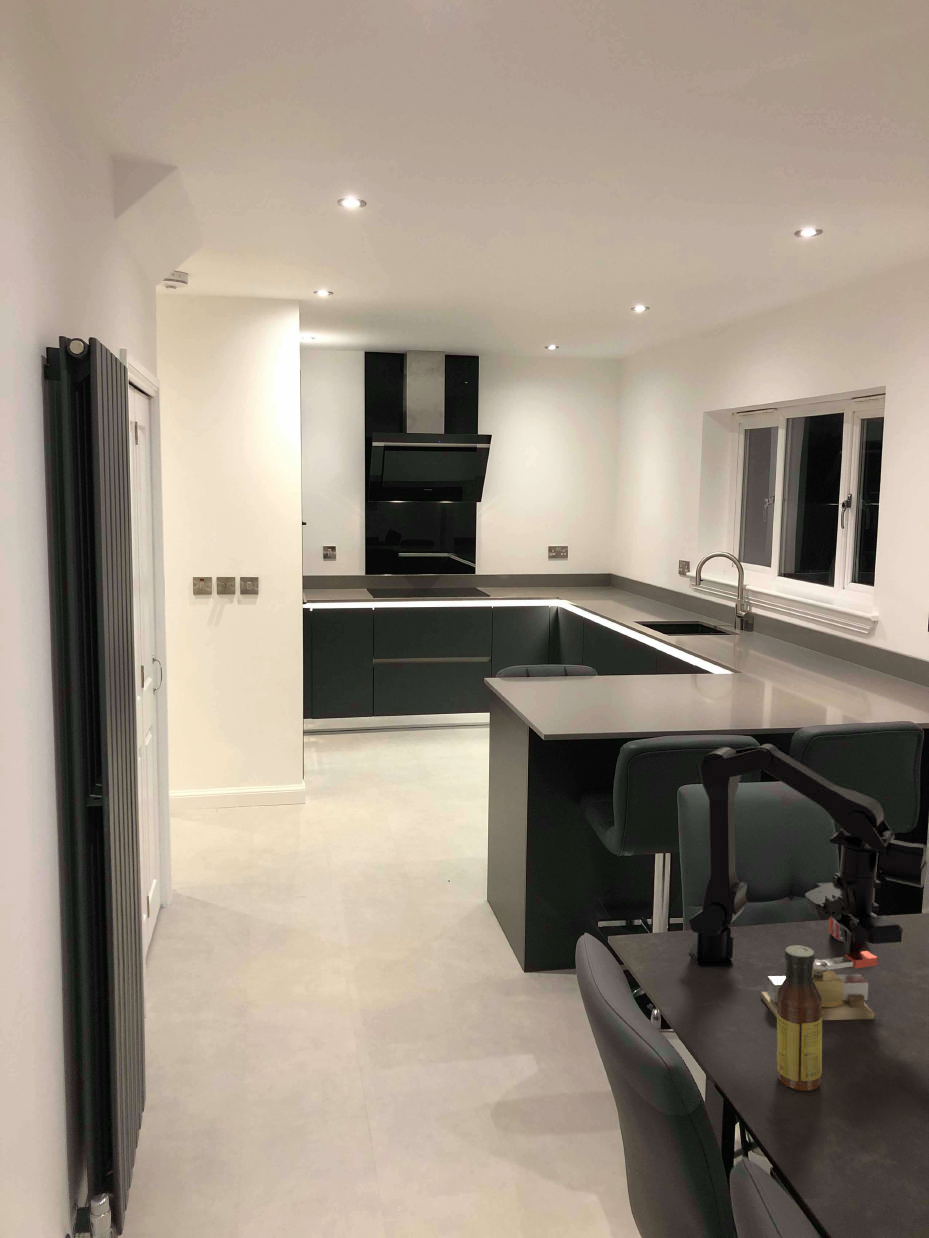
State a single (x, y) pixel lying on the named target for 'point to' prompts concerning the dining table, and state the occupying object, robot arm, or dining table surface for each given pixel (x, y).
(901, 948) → the dining table surface
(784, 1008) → the sauce bottle
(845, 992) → the valve and pipe
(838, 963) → the ball valve lever
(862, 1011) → the birch rig board
